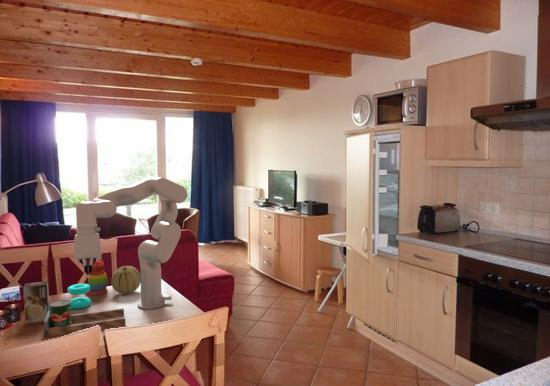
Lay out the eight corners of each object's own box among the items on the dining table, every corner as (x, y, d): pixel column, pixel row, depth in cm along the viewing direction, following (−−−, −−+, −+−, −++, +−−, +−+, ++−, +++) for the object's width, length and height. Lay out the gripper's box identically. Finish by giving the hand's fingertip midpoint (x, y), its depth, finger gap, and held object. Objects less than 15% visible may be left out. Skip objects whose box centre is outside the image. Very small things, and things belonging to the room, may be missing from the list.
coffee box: (50, 315, 183) (49, 280, 182) (48, 320, 177) (47, 284, 176) (26, 318, 179) (25, 283, 178) (24, 324, 173) (22, 287, 172)
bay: (123, 314, 184) (123, 301, 184) (125, 325, 172) (125, 311, 172) (48, 324, 173) (48, 310, 172) (44, 337, 160) (44, 322, 160)
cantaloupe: (138, 287, 225) (137, 261, 224) (144, 295, 213) (143, 266, 212) (109, 291, 218) (108, 264, 217) (114, 299, 205) (113, 270, 204)
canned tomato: (55, 334, 163) (54, 307, 162) (46, 329, 168) (45, 303, 167) (75, 328, 169) (74, 302, 168) (66, 323, 174) (65, 298, 173)
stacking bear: (102, 289, 223) (102, 257, 221) (112, 292, 216) (111, 259, 215) (83, 293, 214) (82, 260, 213) (92, 297, 208) (91, 263, 207)
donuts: (69, 283, 198) (91, 282, 201) (69, 304, 199) (92, 301, 202) (65, 289, 189) (88, 287, 192) (66, 310, 189) (89, 308, 192)
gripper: (106, 228, 176) (107, 270, 178) (67, 230, 171) (69, 273, 172) (106, 231, 170) (107, 274, 171) (66, 233, 164) (67, 278, 165)
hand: (88, 274), depth 171 cm, fingers closed
